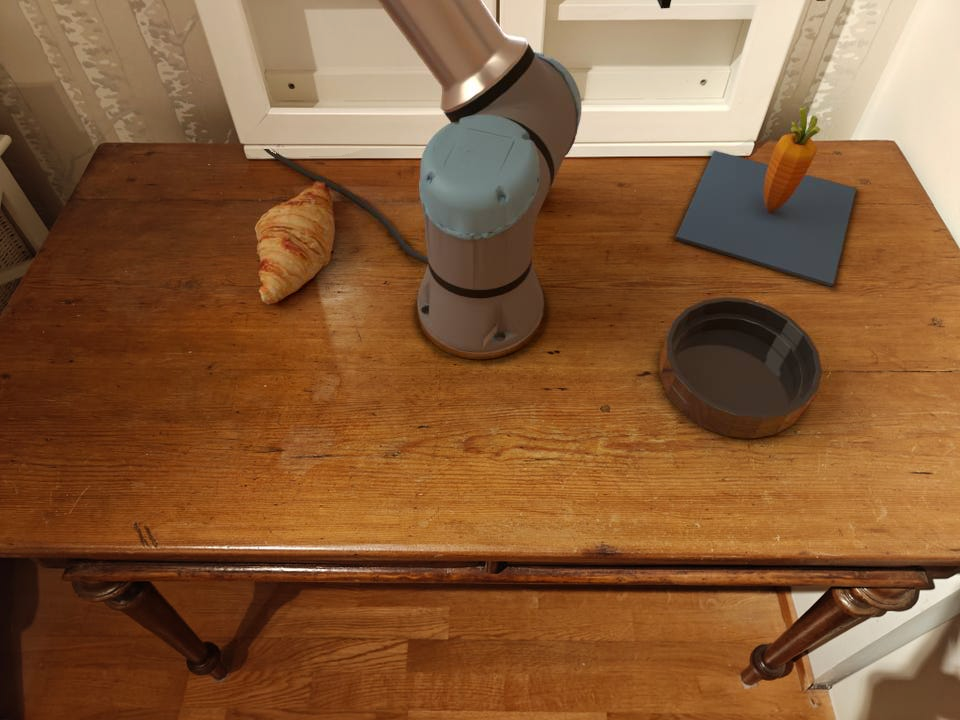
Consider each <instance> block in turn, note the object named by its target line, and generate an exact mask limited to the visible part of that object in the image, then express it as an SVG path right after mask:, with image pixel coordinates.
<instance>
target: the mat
mask: <svg viewBox="0 0 960 720" xmlns="http://www.w3.org/2000/svg"><path fill="white" fill-rule="evenodd" d="M768 166H769V164H767V163H763V162H759V161H756V160H752V159H748V158H744V157H740V156H736V155H733V154H729V153H725V152H722V151H718V150H713V153H712V155H711V156H710V159H709V162H708V164H707V166H706V168H705V170H704V173H703V174H702V177H701V179H700V182H699V184H698V186H697V189H696V191H695V193H694V195H693V198H692V199H691V202H690V204H689V207H688V209H687V211H686V213H685V215H684V217H683V220H682V222H681V225H680V227H679V229H678V231H677V234H676V236H675V240H676V241H679V242H682V243H685V244H690V245H692V246H695V247H699V248H702V249H705V250H709V251H712V252H715V253H719V254H721V255H725V256H729V257H731V258H735V259H738V260H742V261H744V262H748V263H751V264H755V265H758V266H761V267H765V268H768V269H771V270H774V271H778V272H781V273H784V274H788V275H791V276H795V277H797V278H801V279H804V280H808V281H811V282H813V283H816V284H820V285H824V286H827V287H831V288H832V287H833V286H834V283H835V279H836V275H837V270H838V267H839V262H840V258H841V254H842V251H843V245H844V241H845V238H846V233H847V229H848V225H849V221H850V216H851V212H852V209H853V204H854V201H855V196H856V191H857V187H853V186H849V185H845V184H842V183H838V182H835V181H831V180H827V179H824V178H821V177H817V176H812V175H809V174H805V176H804V178H803V179H802V181H801V183H800V184H799V186H798V187H797V189H796V190H795V191H794V193H793V194H792V196H791V197H790V198H789V199H788V201H787V202H786V203H784V204H783V205H782V206H781V207H780V208H778V209H777V210H775V211H774V212H768V211H767V209H766V207H765V203H764V195H763V190H764V182H765V177H766V172H767V169H768Z"/></svg>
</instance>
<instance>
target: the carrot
mask: <svg viewBox="0 0 960 720" xmlns="http://www.w3.org/2000/svg"><path fill="white" fill-rule="evenodd" d="M798 115H799V116H798V117H799V126H798V123H797V122H795V121H792V122H791V127H790V131H791V132H792V133H787V134H784V135H782V136H781V137H780V139H779V140H778V142H777V143H776V145H775V146H774V149H773V150H772V151H773V152H772V155H771V157H770V160H769V163H768V165H769V166H768V169H767V172H766V177H765V182H764V190H763V195H764V203H765V207H766V209H767V211H768V212H774V211H775V210H777V209H778V208H780V207H781V206H782V205H783V204H784V203H786V202H787V201H788V199H789V198H790V197H791V196H792V194H793V193H794V191H795V190H796V189H797V187H798V186H799V184H800V183H801V181H802V179H803V178H804V176H805V175H807V172H808V170H809V168H810V167H811V164H812V162H813V160H814V158H815V156H816V154H817V152H818V146H817V145H816V144H815V142H814V141H813V140H812V137H813V136H815V135H817V134H819V132H820V131H821V128H820V127H819V126H817V123H818V120H819V119H818V117H817V115H811V117H810V120H809V124H808V114H807V108H806V107H801V108H799V109H798Z"/></svg>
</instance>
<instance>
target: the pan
mask: <svg viewBox="0 0 960 720" xmlns="http://www.w3.org/2000/svg"><path fill="white" fill-rule="evenodd" d="M820 357H821V356H820V352H819V350H818V348H817V346H816V345H815V343H814V342H813V339H812V338H811V337H810V335H809V334H808V332H806V330H804V329H803V328H802V326H800V325H799V324H798V323H797V322H796V321H795V320H794V319H793V318H791V317H790V316H788V315H787V314H785V313H783V312H781V311H780V310H778V309H776V308H774V307H772V306H770V305H768V304H764V303H761V302H758V301H755V300H752V299H748V298H740V297H739V298H738V297H727V296H724V297H716V298H711V299H704V300H702V301H699V302H697V303H695V304H693V305H691V306H689V307H687V308H685V309H684V310H683V311H682V312H681V313H680V314H679V315H678V316H677V317H675V319H673V321H672V323H671V325H670V328H669V330H668V332H667V335H666V337H665V342H664V344H663V347H662V349H661V353H660V356H659V360H658V361H659V379H660V381H661V383H662V386H663V388H664V390H665V392H666V395H667V397H668V399H670V401H671V402H672V403H673V404H674V406H675V407H676V408H677V409H678V410H679V412H680V413H681V414H682V415H684V416H686V418H688V419H690V420H691V421H693V422H694V423H695V424H697V425H699V426H700V427H701V428H703V429H706V430H709V431H711V432H713V433H717V434H719V435H722V436H725V437H731V438H741V439H751V440H752V439H758V438H764V437H769V436H774V435H776V434H778V433H780V432H782V431H784V430H786V429H789V427H791V426H793V425H794V424H795V422H796V421H797V420H798V419H799V417H800V416H801V415H802V414H803V412H804V411H805V410H806V408H807V407H808V405H809V403H810V402H811V401H812V399H813V398H814V396H815V395H816V394H817V392H818V391H819V388H820V383H821V378H822V375H823V367H822V363H821V362H822V361H821V358H820Z"/></svg>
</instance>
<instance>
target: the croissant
mask: <svg viewBox="0 0 960 720" xmlns="http://www.w3.org/2000/svg"><path fill="white" fill-rule="evenodd" d="M333 205H334V198H333V196H332V194H331V193H330V189H329V187H328V186H327V184H326V183H325V182H318V181H315V182H313V184H312V185H311V187H309V188H306V189H304V190H303V191H301V192H300V193H299V194H298V195H297V196H294V197H292V198H291V199H289V200H287V201H281V202H280V203H279V204H277V205H275V206H273V207H272V208H270V209H269V210H267V212H266V213H265V212H264V214H262V216H261V217H260V219H259V220H258V221H257V222H256V224H255V227H254V231H255V234H256V238H257V241H258V243H257V246H256V254H257V256H259V260H260V265H259V269H258V276H259V278H260V281H259V282H260V283H261V284H262V285H261V286H260V287H259V289H258V292H259V293H260V297H261V300H262V302H263V303H265V304H266V305H271V304H276V303H278V302H279V301H281V300H284V298H286V297H287V296H288V297H289V295H291V294H294V293H295V292H297V291H299V289H301V288H302V286H304V285H305V284H306V283H308V282H309V281H310V280H311V279H314V277H315V275H316V274H317V273H318V272H319V271H320V270H321V269H322V268H323V266H327V265H328V264H329V263H330V262H331V258H332V252H333V246H334V245H333V244H334V241H335V233H336V224H335V214H334V210H333V207H334V206H333Z"/></svg>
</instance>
